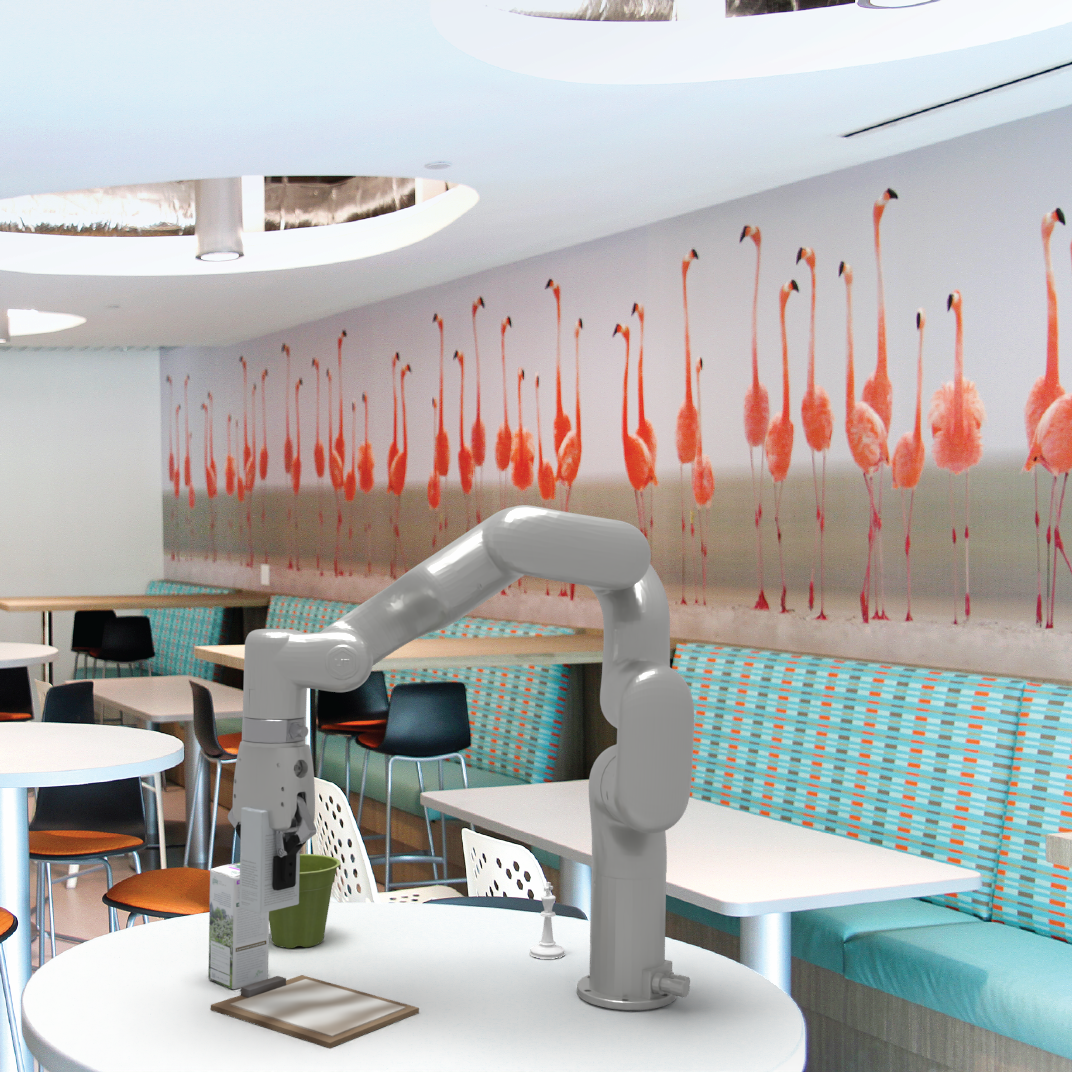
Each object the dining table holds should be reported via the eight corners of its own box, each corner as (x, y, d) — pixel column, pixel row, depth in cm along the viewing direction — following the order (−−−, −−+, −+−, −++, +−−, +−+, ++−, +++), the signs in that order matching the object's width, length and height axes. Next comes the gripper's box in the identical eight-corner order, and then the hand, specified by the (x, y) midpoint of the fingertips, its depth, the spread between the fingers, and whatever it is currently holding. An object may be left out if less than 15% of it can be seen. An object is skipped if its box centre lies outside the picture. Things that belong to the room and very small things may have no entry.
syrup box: (270, 981, 167) (272, 867, 168) (230, 991, 163) (233, 874, 163) (244, 971, 171) (247, 860, 172) (205, 980, 167) (208, 867, 167)
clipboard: (418, 1012, 156) (419, 999, 156) (329, 1048, 144) (330, 1033, 144) (301, 979, 168) (302, 967, 168) (210, 1009, 156) (210, 996, 156)
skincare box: (276, 899, 159) (279, 800, 160) (299, 905, 157) (302, 805, 157) (236, 908, 155) (239, 806, 155) (259, 914, 152) (262, 811, 152)
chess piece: (571, 953, 182) (572, 881, 182) (552, 962, 178) (554, 888, 178) (541, 947, 185) (543, 876, 185) (522, 955, 181) (524, 883, 181)
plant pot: (270, 928, 192) (272, 852, 192) (348, 933, 190) (350, 855, 190) (241, 951, 180) (243, 869, 180) (324, 956, 178) (326, 874, 179)
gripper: (346, 735, 154) (342, 890, 154) (250, 723, 164) (245, 868, 164) (300, 741, 148) (295, 902, 148) (203, 728, 158) (197, 879, 158)
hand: (269, 883), depth 156 cm, fingers closed on skincare box, 4 cm apart
